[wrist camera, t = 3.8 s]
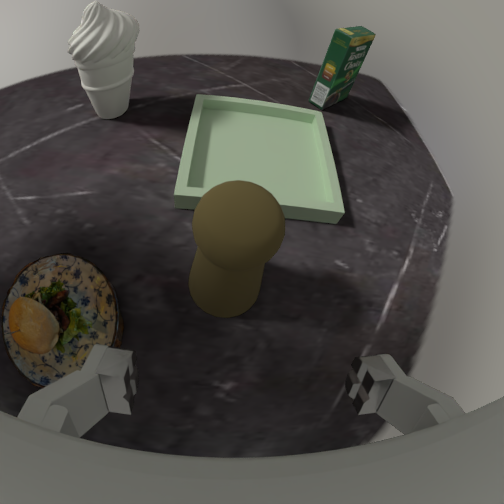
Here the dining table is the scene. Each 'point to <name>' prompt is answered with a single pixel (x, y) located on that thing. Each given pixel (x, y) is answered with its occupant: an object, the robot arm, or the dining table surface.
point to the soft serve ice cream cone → (105, 57)
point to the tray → (260, 155)
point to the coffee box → (341, 65)
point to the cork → (233, 246)
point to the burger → (58, 317)
